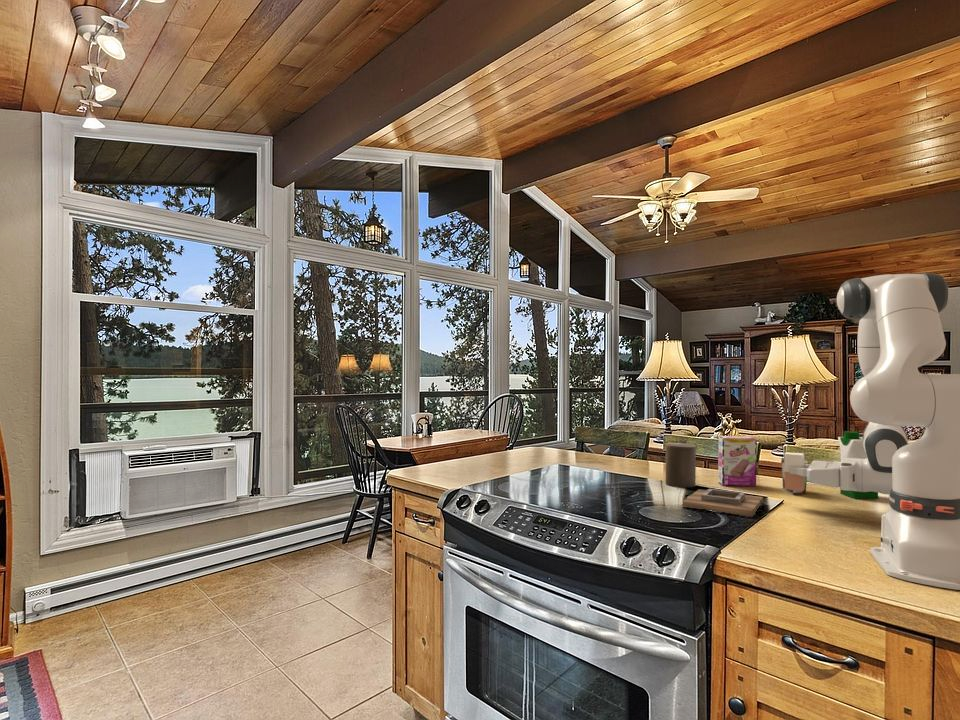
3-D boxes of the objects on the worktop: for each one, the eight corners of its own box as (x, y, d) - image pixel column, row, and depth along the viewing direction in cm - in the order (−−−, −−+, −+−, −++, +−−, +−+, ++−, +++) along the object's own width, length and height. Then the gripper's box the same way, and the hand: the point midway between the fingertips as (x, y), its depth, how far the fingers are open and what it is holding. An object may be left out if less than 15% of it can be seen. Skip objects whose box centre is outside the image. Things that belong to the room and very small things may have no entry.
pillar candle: (672, 487, 181) (672, 442, 181) (661, 481, 190) (661, 438, 190) (700, 487, 181) (701, 443, 181) (688, 481, 191) (688, 438, 191)
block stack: (803, 491, 152) (802, 455, 152) (784, 489, 155) (784, 453, 155) (804, 488, 156) (804, 453, 156) (786, 486, 158) (786, 452, 159)
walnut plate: (752, 518, 145) (752, 505, 145) (682, 508, 155) (682, 495, 155) (762, 503, 159) (762, 492, 159) (698, 495, 170) (698, 484, 170)
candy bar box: (722, 486, 183) (722, 437, 183) (717, 483, 188) (717, 435, 188) (757, 486, 181) (757, 438, 182) (751, 483, 186) (751, 436, 187)
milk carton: (835, 492, 172) (834, 430, 173) (864, 492, 172) (863, 430, 172) (853, 499, 164) (853, 433, 164) (884, 499, 163) (883, 433, 164)
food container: (816, 497, 167) (816, 464, 167) (794, 496, 169) (794, 464, 169) (801, 488, 179) (801, 457, 180) (781, 487, 181) (780, 457, 181)
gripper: (849, 457, 156) (794, 453, 164) (847, 467, 140) (786, 462, 148) (850, 479, 156) (795, 474, 164) (848, 492, 139) (786, 485, 147)
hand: (790, 468), depth 156 cm, fingers closed on block stack, 4 cm apart
